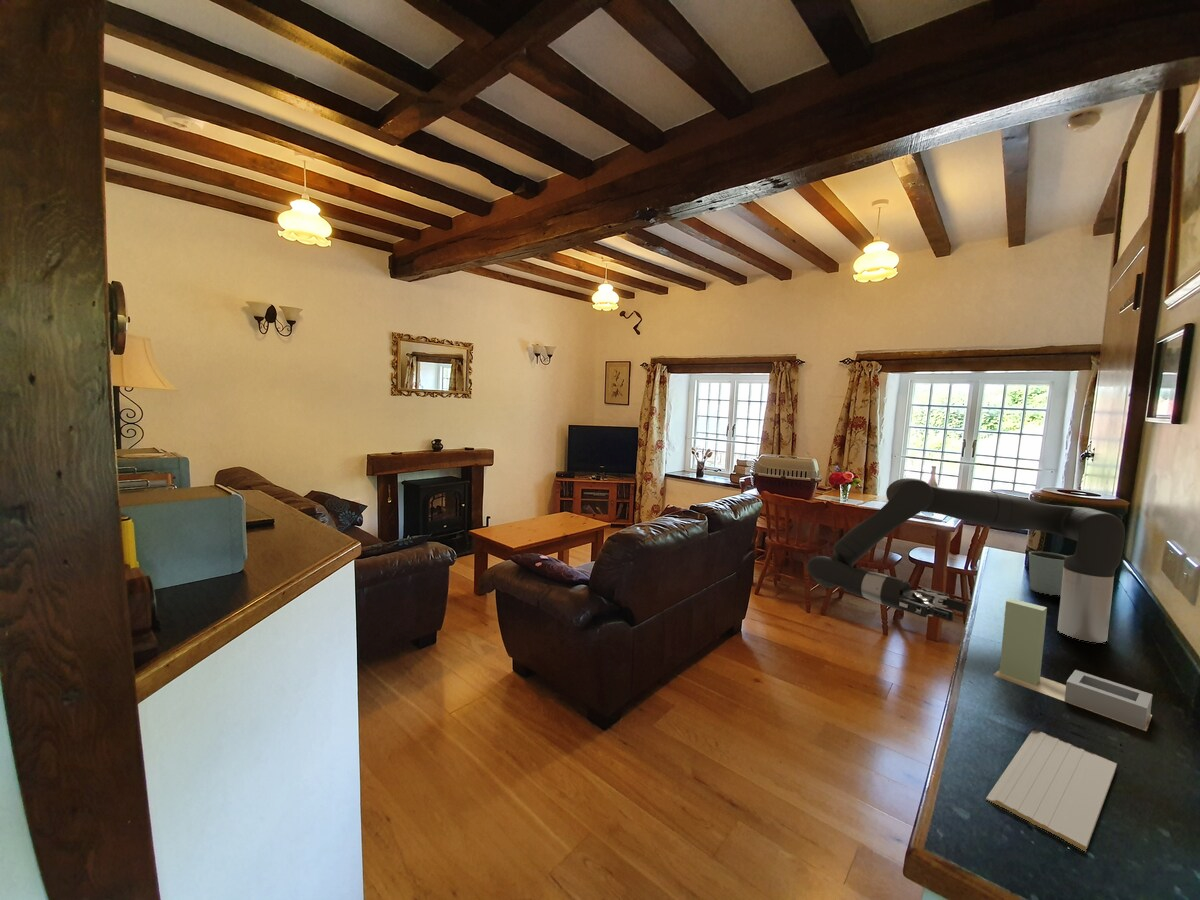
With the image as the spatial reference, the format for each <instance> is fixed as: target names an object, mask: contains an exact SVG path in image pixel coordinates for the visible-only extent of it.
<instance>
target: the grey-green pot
mask: <svg viewBox="0 0 1200 900" xmlns="http://www.w3.org/2000/svg"><path fill="white" fill-rule="evenodd" d="M1067 556H1068V555H1064V554H1060V553H1054V552H1050V551H1049V552H1048V551H1040V550H1039V551H1036V550H1034V551H1029V552H1028V568H1029V570H1028V571H1029V573H1028V574H1029V589H1030V590H1031V591H1033V592H1037V593H1038V592H1039V594H1042V593H1044V594H1043V595H1046V594H1049V595H1048V596H1052V595H1058V596H1057V597H1061V588H1062V577H1063V567H1064V559H1065V558H1066V557H1067ZM1059 595H1060V596H1059Z"/></svg>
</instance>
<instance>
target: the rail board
mask: <svg viewBox="0 0 1200 900" xmlns="http://www.w3.org/2000/svg"><path fill="white" fill-rule="evenodd" d="M992 676H994V677H996V678H999V679H1002V680H1005V681H1007V682H1011V683H1013V684H1016V685H1018V686H1021V687H1024V688H1027V689H1029V690H1032V691H1034V692H1038V693H1040V694H1043V695H1046V696H1049V697H1051V698H1054V699H1056V700H1059V701H1063V702H1065V703H1067V704H1070V705H1073V706H1076V707H1079V708H1081V709H1085V710H1087V711H1090V712H1092V713H1095V714H1098V715H1101V716H1103V717H1106V718H1109V719H1112V720H1113V721H1117V722H1120V723H1123V724H1125V725H1128V726H1131V727H1134V728H1136V729H1139V730H1142V731H1145V732H1147V731H1148V728H1149V725H1150V722H1151V719H1152V717H1153V714H1151V713H1150V717H1149V719H1148V722H1147V724H1146V727H1145V730H1144V729H1141V728H1138V727H1136V726H1133V725H1130V724H1127V723H1125V722H1122V721H1119V720H1116V719H1114V718H1111V717H1108V716H1105V715H1103V714H1100V713H1097V712H1094V711H1092V710H1089V709H1086V708H1083V707H1081V706H1078V705H1075V704H1072V703H1070V702H1067V701H1065V692H1066V684H1063V683H1060V682H1058V681H1055V680H1053V679H1048V678H1045V677H1043V676H1040V681H1039V683H1038V684H1037V685H1036V686H1035V685H1033V684H1030V683H1027V682H1024V681H1021V680H1019V679H1016V678H1013V677H1010V676H1007V675H1005V674H1002V673H1000V668H999V669H998V670H997V671H996V672H994V673H993V675H992Z"/></svg>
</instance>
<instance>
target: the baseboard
mask: <svg viewBox="0 0 1200 900" xmlns="http://www.w3.org/2000/svg"><path fill="white" fill-rule="evenodd" d="M1039 714H1040V716H1046V717H1048V718H1049V719H1054V720H1055V721H1058V722H1061V723H1063V724H1066V725H1069V726H1071V727H1073V728H1076V729H1078V730H1081V731H1084V732H1086V733H1089V734H1092V735H1094V736H1097V737H1099V738H1101V739H1104V740H1107V741H1109V742H1112V743H1113V744H1114V743H1115V744H1117V745H1119V747H1123V744H1122V743H1121V742H1120V743H1116V742H1115V741H1112V740H1110V739H1107V738H1104V737H1102V736H1099V735H1097V734H1095V733H1092V732H1089V731H1086V727H1085V726H1082V725H1080V724H1075V723H1073V722H1071V721H1069V722H1068V723H1066V722H1063V721H1060V720H1058V719H1056V718H1053V717H1050V716H1048V715H1045V714H1043V712H1040V713H1039ZM1034 715H1035V716H1036V717H1039V715H1037V714H1034ZM1118 765H1119V763H1118V762H1116V761H1113V760H1111V759H1109V758H1106V757H1104V756H1102V755H1099V754H1097V753H1094V752H1092V751H1090V750H1087V749H1085V748H1082V747H1080V746H1078V745H1075V744H1072V743H1071V742H1067V741H1065V740H1063V739H1061V738H1058V737H1055V736H1053V735H1051V734H1048V733H1046V732H1044V731H1040V730H1038V729H1036V728H1033V729H1032V730H1031V732H1030V733H1029V734H1028V736H1027V737H1026V739H1025V741H1024V742H1023V743H1022V745H1021V747H1020V748H1019V749H1018V751H1017V752H1016V754H1015V755H1014V757H1013V758H1012V759H1011V761H1010V762H1009V764H1008V765H1007V767H1006V769H1005V770H1004V771H1003V773H1002V774H1001V776H1000V777H999V779H997V781H996V783H995V785H994V786H993V788H992V789H991V790H990V792H989V793H988V794H987V796H986V797H985V801H987V800H988V801H987V802H989V801H990V802H989V803H991V802H992V803H991V804H993V803H995V804H996V805H999V806H1000V807H1003V808H1005V809H1007V810H1009V811H1010V812H1012V813H1014V814H1016V815H1017V816H1019V817H1021V818H1023V819H1025V820H1027V821H1029V822H1031V823H1032V824H1034V825H1037V826H1038V827H1040V828H1043V829H1045V830H1047V831H1049V832H1051V833H1052V834H1055V835H1057V836H1059V837H1060V838H1062V839H1064V840H1065V841H1067V842H1068V843H1070V844H1073V845H1074V846H1076V847H1078V848H1080V849H1081V850H1080V849H1079V850H1080V851H1082V850H1083V851H1085V852H1084V853H1086V852H1087V850H1086V849H1088V848H1089V844H1090V841H1091V838H1092V835H1093V833H1094V831H1095V828H1096V825H1097V822H1098V819H1099V817H1100V814H1101V811H1102V810H1103V809H1102V808H1103V805H1104V803H1105V800H1106V797H1107V795H1108V793H1109V789H1110V787H1111V785H1112V781H1113V778H1114V776H1115V773H1116V770H1117V767H1118ZM995 804H994V805H995ZM996 805H995V806H996ZM1000 807H999V808H1000ZM1010 812H1009V813H1010ZM1012 813H1011V814H1012ZM1017 816H1016V817H1017ZM1019 817H1018V818H1019ZM1021 818H1020V819H1021ZM1023 819H1022V820H1023ZM1025 820H1024V821H1025ZM1027 821H1026V822H1027ZM1029 822H1028V823H1029ZM1031 823H1030V824H1031ZM1032 824H1031V825H1032ZM1034 825H1033V826H1034ZM1038 827H1037V828H1038ZM1040 828H1039V829H1040ZM1065 841H1064V842H1065ZM1068 843H1067V844H1068ZM1070 844H1069V845H1070ZM1074 846H1073V847H1074ZM1076 847H1075V848H1076ZM1078 848H1077V849H1078ZM1083 851H1082V852H1083Z"/></svg>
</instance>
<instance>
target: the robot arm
mask: <svg viewBox="0 0 1200 900" xmlns="http://www.w3.org/2000/svg"><path fill="white" fill-rule="evenodd" d="M885 492H886V495H885V496H886V499H887V500H888V501H887V502H886V503H885V504H884V505H883V506H882V507H880V509H879V510H877V511H876V512H875V513H873V514H872V515H870V517H868V518H866V519H865V520H863V521H861V522H860V523H858V524H857V525H855V526H853V527H852V528H851V529H850V530H849V531H848V532H846V534H844V535H843V536H842V537H841V538H840V539H839V540H838V541H837V542H835V544H834V545H833V546H832V547H833V555H831V557H828V556H826V555H825V556H824V555H816V556H814V557H811V558H810V559H809V560H808V561H807V564H806V568H807V569H806V570H807V572H808V574H809V575H810V577H811V578H812V579H814V581H815V582H816V583H817V584H818V585H820V586H821V587H823V588H826V589H832V588H834V587H836V586H838V587H839V588H841V589H843V590H844V591H845V592H847V593H850V594H852V595H855V596H857V597H862V598H865V599H867V600H869V601H872V602H874V603H877V604H880V605H883V606H886V607H889V608H891V609H896V610H899V611H905V612H908V613H911V614H914V615H917V616H920V617H921V618H927V616H929V617H936V618H939V619H942V620H946V621H949V622H952V621H954V620H955V619H954V618H955V612H954V611H957V612H960V613H964V614H965V613H967V612H968V609H969V604H968V603H966V602H965V601H960V600H957V599H953V598H950V594H948V593H944V592H941V591H937V590H933V589H929V588H926V587H921V589H917V590H915V589H913V588H912V585H911V583H910V582H909V581H908V580H905V579H902V578H898V577H895V576H890V575H887V574H884V573H880V572H874V571H873V572H872V571H869V570H865V569H862V568H859V567H854V565H855V564H856V563H857V562H858V561H859V560H861V559H862V557H863V556H865V555H866V554H867V553H868V552H869V551H870V550H871V549H873V548H874V547H875V546H876V545H877V544H878V543H880V541H882V540H883V539H884V538H885V537H887V536H888V535H889V534H890V533H891V532H892V531H894V530H895V529H897V528H898V527H899V526H901V525H902V524H904V523H905V522H907V521H908V520H910V519H911V518H913V517H914V516H916V515H918V514H919V513H921V512H925V513H931V514H939V515H943V516H947V517H950V518H954V519H956V520H960V521H965V522H968V523H972V524H976V525H980V526H984V527H990V528H991V527H992V528H995V529H996V528H997V529H1001V530H1011V531H1029V530H1031V531H1040V532H1046V533H1048V534H1049V533H1050V534H1054V535H1056V536H1061V537H1063V538H1067V539H1070V540H1072V541H1075V542H1076V546H1075V547H1076V548H1075V551H1074V554H1071V555H1066V556H1067V557H1066V558H1065V559H1064V567H1063V577H1062V588H1061V596H1060V600H1059V609H1058V619H1057V632H1058V631H1059V632H1058V633H1059V634H1061V633H1063V634H1065V635H1067V636H1066V637H1068V636H1070V637H1072V638H1071V639H1073V638H1076V639H1079V640H1078V641H1080V640H1084V641H1089V642H1096V643H1103V642H1106V641H1107V642H1108V634H1109V627H1110V621H1111V620H1110V618H1111V610H1112V609H1111V607H1112V601H1113V600H1112V599H1113V590H1114V579H1115V572H1116V570H1117V568H1119V566H1120V564H1121V561H1122V556H1123V551H1124V546H1125V539H1126V528H1125V525H1124V523H1123V521H1122V520H1121V519H1120V518H1119V517H1117V516H1116V515H1114V514H1112V513H1110V512H1106V511H1104V510H1103V511H1102V510H1098V509H1096V508H1095V509H1094V508H1090V507H1081V506H1068V505H1055V504H1054V505H1053V504H1047V503H1041V502H1038V501H1033V500H1030V499H1027V498H1023V497H1019V496H1015V495H1009V494H1006V493H1005V494H1004V493H999V492H991V491H986V490H985V491H983V490H975V489H974V490H973V489H959V488H958V489H957V488H944V487H940V486H935V485H930V484H929V483H927V481H925V480H922V479H919V478H911V477H910V478H908V477H907V478H900V479H897V480H895V481H893V482H892V483H890V484H889V485H888V486H887V488H886V491H885ZM946 608H947V609H946ZM953 610H954V611H953ZM1063 634H1062V635H1063ZM1065 635H1064V636H1065ZM1070 637H1069V638H1070ZM1076 639H1075V640H1076ZM1084 641H1083V642H1084ZM1089 642H1088V643H1089ZM1096 643H1095V644H1096ZM1103 644H1104V643H1103Z"/></svg>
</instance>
